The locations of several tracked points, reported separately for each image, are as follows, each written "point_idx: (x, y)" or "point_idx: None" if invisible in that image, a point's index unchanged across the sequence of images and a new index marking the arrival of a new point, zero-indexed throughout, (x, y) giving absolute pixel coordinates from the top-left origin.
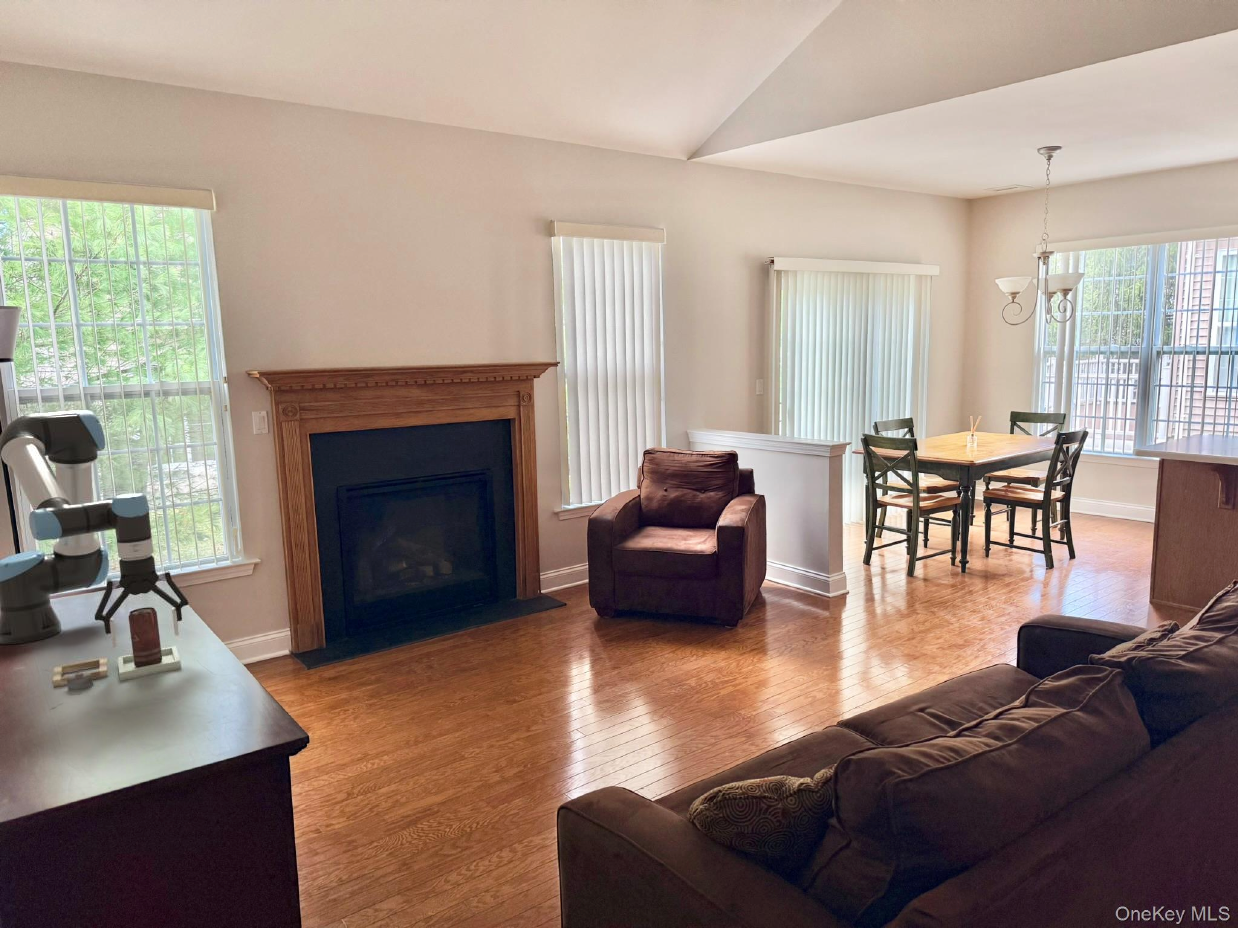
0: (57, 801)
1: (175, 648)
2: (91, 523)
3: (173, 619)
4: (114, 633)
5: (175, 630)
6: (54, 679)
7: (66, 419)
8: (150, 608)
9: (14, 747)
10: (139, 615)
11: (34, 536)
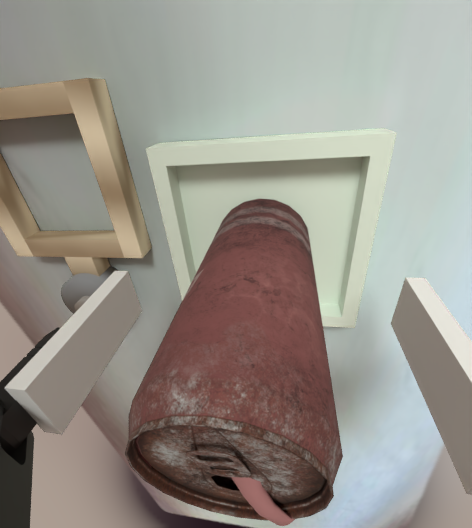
0: (190, 513)
1: (382, 179)
2: None
3: (435, 388)
4: (108, 360)
5: (403, 346)
6: (17, 248)
7: None
8: (299, 446)
9: (107, 435)
10: (213, 496)
11: None
